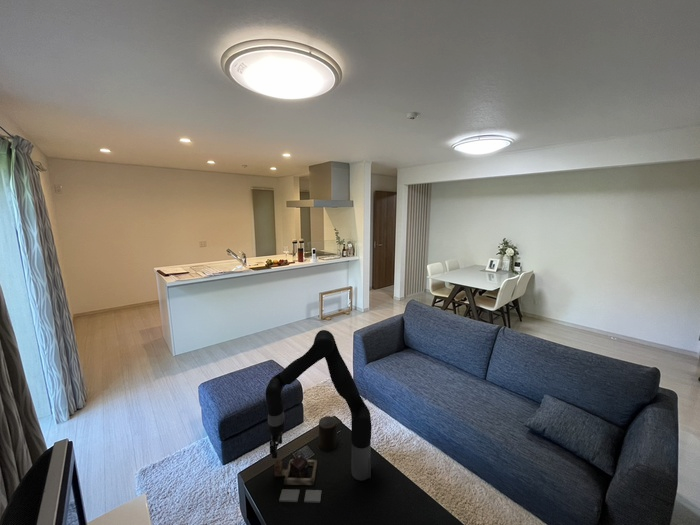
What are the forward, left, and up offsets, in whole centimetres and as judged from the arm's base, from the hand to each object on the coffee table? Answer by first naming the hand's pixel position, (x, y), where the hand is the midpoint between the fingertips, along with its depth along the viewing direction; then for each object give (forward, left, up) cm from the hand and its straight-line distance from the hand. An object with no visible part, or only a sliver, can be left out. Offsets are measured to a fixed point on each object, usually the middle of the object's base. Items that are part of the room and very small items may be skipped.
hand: (277, 450), depth 137 cm
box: (-10, 0, -13) cm, 17 cm away
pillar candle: (-22, -19, -13) cm, 32 cm away
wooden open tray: (-8, 0, -13) cm, 15 cm away
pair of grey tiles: (-13, +11, -13) cm, 22 cm away
